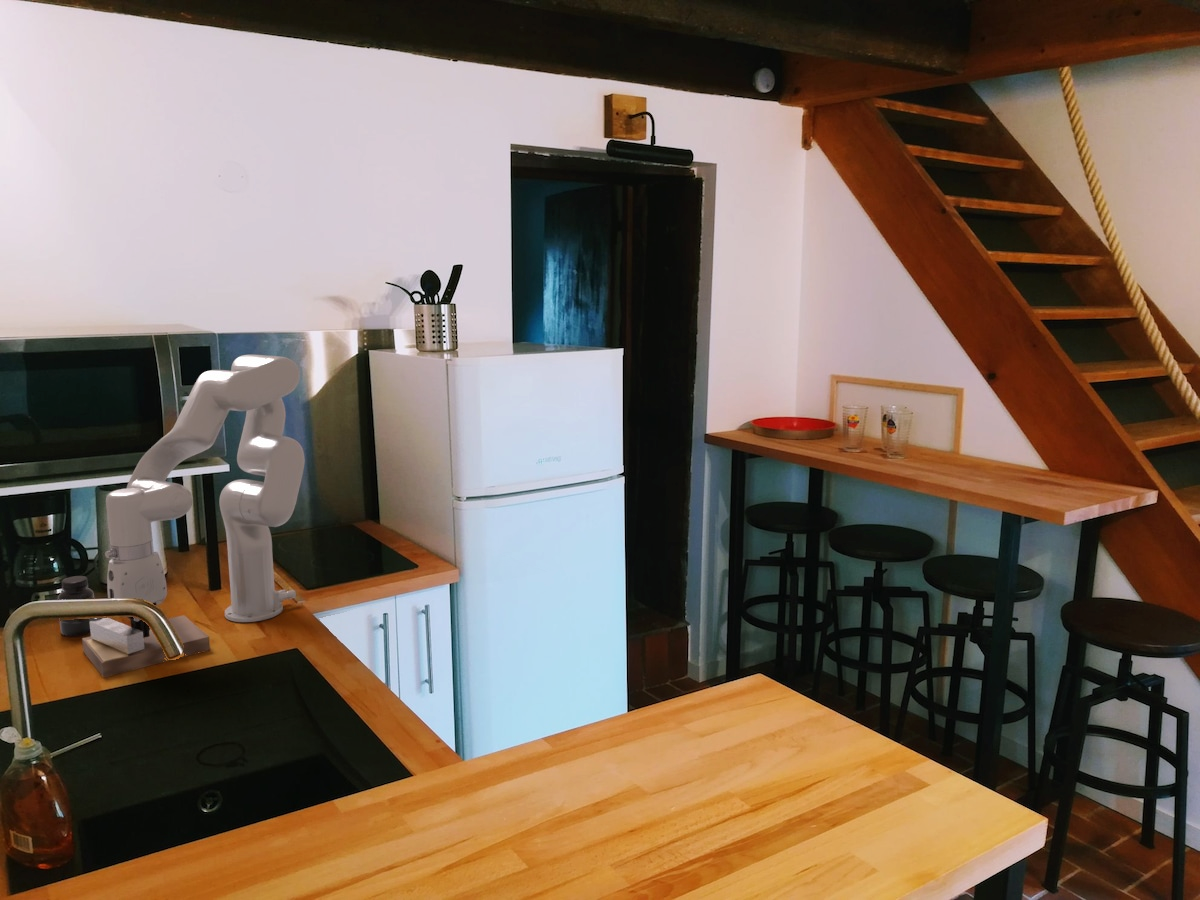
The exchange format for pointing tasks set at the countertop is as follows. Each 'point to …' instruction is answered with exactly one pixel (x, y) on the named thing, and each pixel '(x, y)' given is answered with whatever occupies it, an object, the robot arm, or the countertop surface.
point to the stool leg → (116, 634)
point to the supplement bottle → (75, 590)
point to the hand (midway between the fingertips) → (141, 636)
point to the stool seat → (119, 661)
